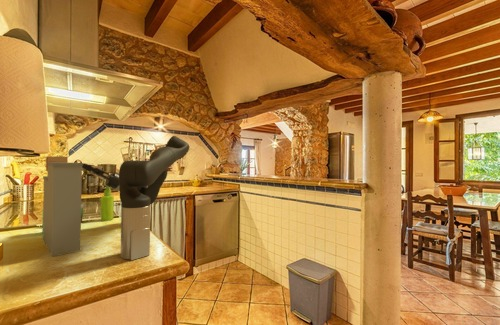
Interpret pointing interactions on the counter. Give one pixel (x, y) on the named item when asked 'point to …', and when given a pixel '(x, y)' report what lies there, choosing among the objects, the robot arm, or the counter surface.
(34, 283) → the counter surface
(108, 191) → the soap dispenser
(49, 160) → the mallet
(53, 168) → the tall stepped gray tower
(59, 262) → the counter surface
